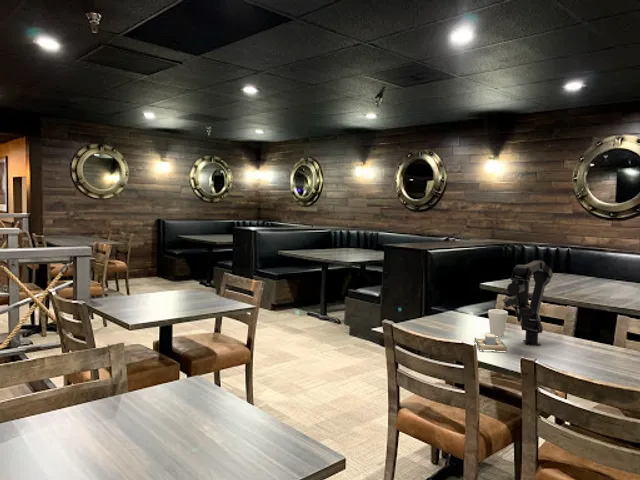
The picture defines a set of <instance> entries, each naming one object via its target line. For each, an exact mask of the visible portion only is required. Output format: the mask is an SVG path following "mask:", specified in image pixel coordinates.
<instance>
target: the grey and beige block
mask: <svg viewBox="0 0 640 480" xmlns="http://www.w3.org/2000/svg"><path fill="white" fill-rule="evenodd" d="M484 337H485V338H484V339H485V345H496V339H497V337H496V336H495V335H494V334H490V333H485V335H484Z"/></svg>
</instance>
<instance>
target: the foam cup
mask: <svg viewBox="0 0 640 480" xmlns="http://www.w3.org/2000/svg"><path fill="white" fill-rule="evenodd" d="M508 315H509V312H508V311H507V310H504V309H496V308H494V309H492V308H491V309H488V313H487V316H488V320H489V321H488V323H489V334H494V335H495V336H498V337H500V338H502V337H501V336H503V337H504V335H505V330H506V326H507V325H506V323H507V319H508ZM498 337H497V338H498Z"/></svg>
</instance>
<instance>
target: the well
mask: <svg viewBox="0 0 640 480" xmlns="http://www.w3.org/2000/svg"><path fill="white" fill-rule="evenodd" d="M475 342H476V343H477V346H478V347H477V346H476V347H477V349H478V348H479V349H480V350H495V351H508V347H507V346H506V344H505V343H504V342H503V341H502V340H501V338H496V345H484V344H485V338H478V337H474V343H475ZM479 349H478V350H479Z"/></svg>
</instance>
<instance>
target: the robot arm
mask: <svg viewBox="0 0 640 480" xmlns="http://www.w3.org/2000/svg"><path fill="white" fill-rule="evenodd" d="M532 276H533V277H532ZM552 278H553V271H552V268H551V267H550V266H549V265H547V264H546V263H545V261H544V260H539V259H538V260H537V259H536V260H535V259H533V260H532V261H531V262H529V263H527V264H516V265H515V266H514V268H513V270H512V273H511V276H510V280H511V283H509V284H508V285H507V287H506V288H507V289H506V290H507V292H508V293H509V295H511V296H509V297H506V298H502V302H503V306H504V308H510V307H512V308H513V309H514V311H515V315H516V319H517V322H520V326H521V331H524V332H525V338H524V339H522V342H523V343H524V344H526V345H528V344H529V346H531V345H533V346H534V345H535V346H540V345H541V343H540V341H539V334H542V333H543V331H544V327H543V325H542V322H541V321H542V318H541V317H540V308H541V305H542V301H543V296H544V292H545V288H546V286H548V284H550V282H551V279H552ZM531 279H533V281H534V283H535V284H534V287H533V289H532V290H533V291H532V295H531V296H530V282H531ZM530 298H531V299H530ZM529 300H530V302H529Z"/></svg>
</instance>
